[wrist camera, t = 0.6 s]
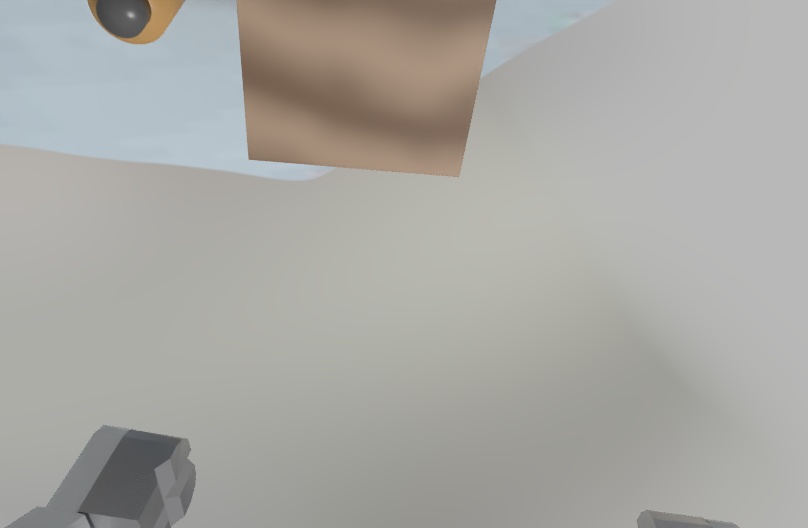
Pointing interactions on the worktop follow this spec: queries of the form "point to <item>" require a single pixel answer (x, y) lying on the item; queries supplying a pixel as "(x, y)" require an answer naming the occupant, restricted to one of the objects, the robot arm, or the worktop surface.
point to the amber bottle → (135, 18)
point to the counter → (362, 81)
